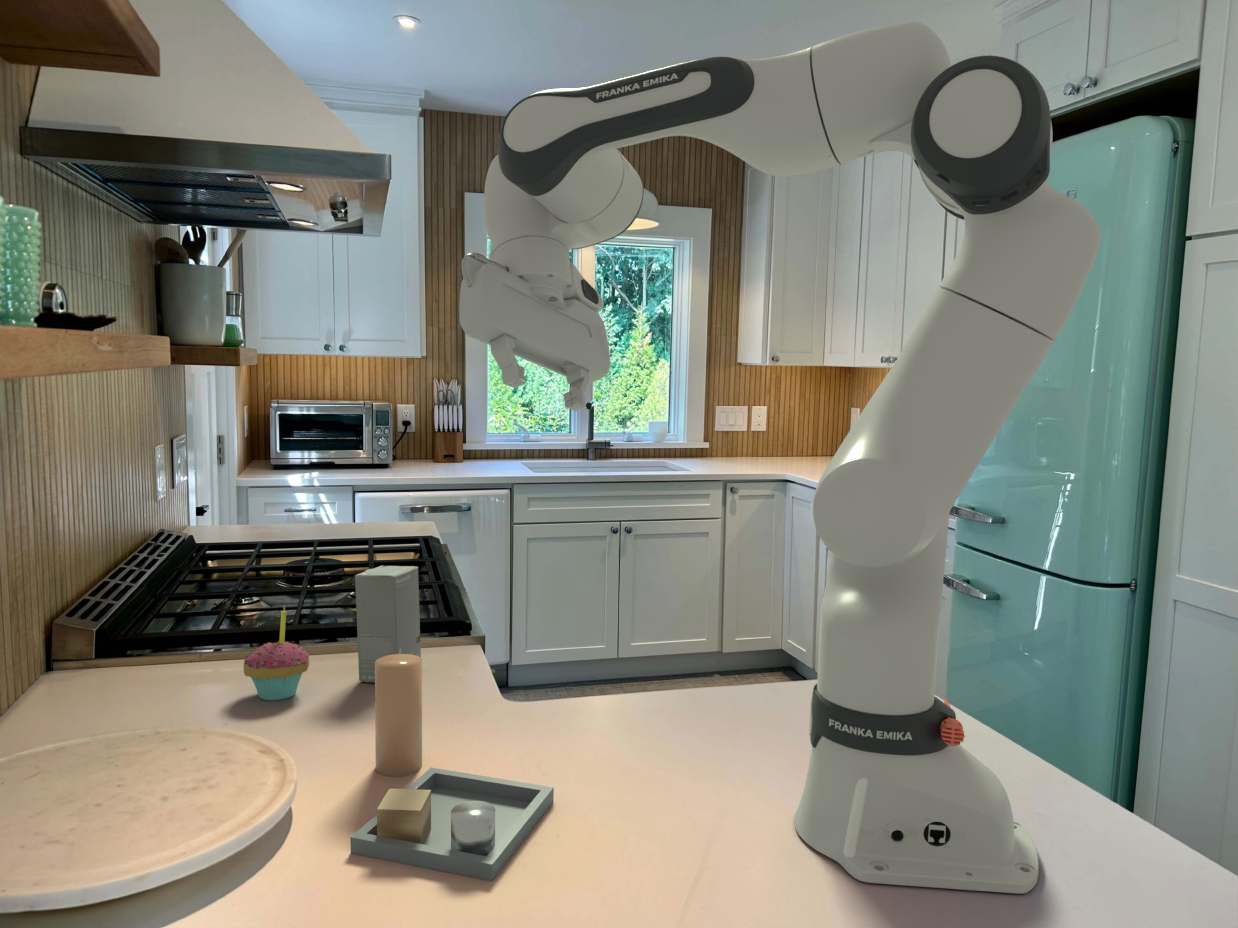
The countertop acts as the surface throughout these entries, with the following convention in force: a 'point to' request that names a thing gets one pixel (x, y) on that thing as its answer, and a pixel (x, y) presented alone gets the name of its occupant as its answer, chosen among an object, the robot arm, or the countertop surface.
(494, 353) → the robot arm
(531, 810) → the parts tray
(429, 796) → the part oak
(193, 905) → the countertop surface
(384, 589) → the skincare box
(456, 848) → the part metal
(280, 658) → the cupcake
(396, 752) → the canister
